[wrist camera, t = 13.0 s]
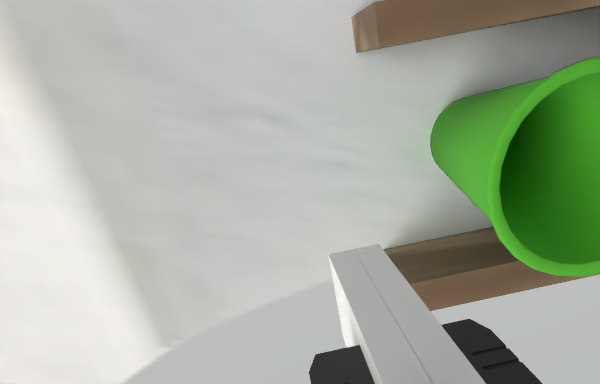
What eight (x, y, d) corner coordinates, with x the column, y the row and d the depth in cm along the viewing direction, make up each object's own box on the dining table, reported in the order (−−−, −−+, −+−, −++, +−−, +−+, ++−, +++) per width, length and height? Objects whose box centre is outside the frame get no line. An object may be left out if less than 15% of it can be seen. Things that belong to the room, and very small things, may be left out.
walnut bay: (631, 224, 30) (702, 252, 25) (386, 276, 29) (412, 314, 24) (642, -37, 25) (732, -64, 20) (351, 17, 25) (374, 2, 20)
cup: (392, 77, 26) (484, 76, 15) (533, 54, 26) (720, 37, 16) (404, 214, 28) (492, 296, 18) (534, 191, 29) (695, 257, 18)
